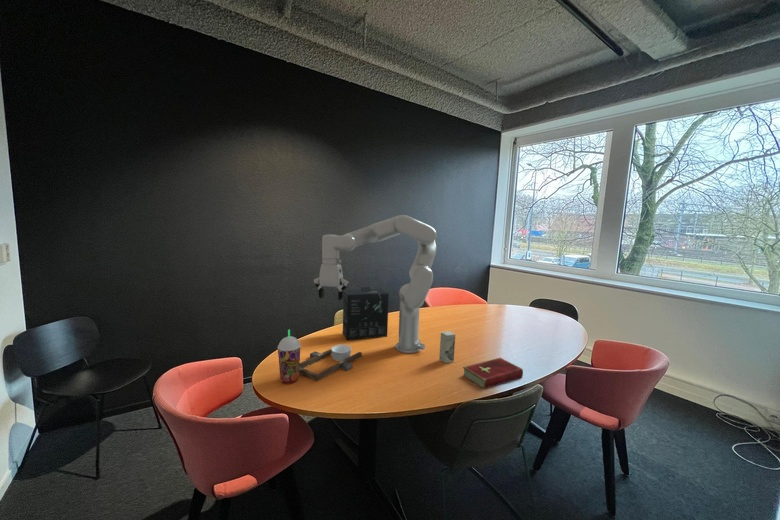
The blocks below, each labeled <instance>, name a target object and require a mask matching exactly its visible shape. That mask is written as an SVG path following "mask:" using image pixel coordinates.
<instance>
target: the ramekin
mask: <svg viewBox="0 0 780 520" xmlns="http://www.w3.org/2000/svg"><path fill="white" fill-rule="evenodd" d="M330 349H331V351H332V355H331V356H332V357H331V358H332V359H333V360H334V361H336V360H338V361H337V362H339V361H341V360H345V359H346V358H348V357H350V356H351V353H352V347H351V346H350V345H347V344H336V345H334V346H332V347H331V348H330Z"/></svg>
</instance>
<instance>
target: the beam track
mask: <svg viewBox="0 0 780 520" xmlns="http://www.w3.org/2000/svg"><path fill="white" fill-rule="evenodd" d="M331 354H332V351H331V348H330V349H328V350H326V351H323V352H319V351H313V352H311V353H309V358H308V359H306V360H304V361H302V362H300V366H299V376H303V377H306V378H308V379H310V380H313V381H315V382H318V381H320V380H322V379H324V378H326V377H328V376H330V375H332V374H333V373H335V372H337V371H338V369H339V370H342V369H343V371H345V370H346V372H348V371H350V370H352V369H353V362H355V361H357V360H359V359H360V357H361V358H362V357H363V352H361V351H358V352H356V353H355V354H352V355H350V357H348V358H346V359H345V360H341V361H337V363H335V364H334V365H331V366H330V367H328V368H326V369H324V370H322V371H320V372H318V373H316V372H313V371H312V370H308V369H306V368H307V367H309V366H311V365H313V364H315V363H317V362H319V361H321V359H322V360H324V359H326V358H328V357H330V356H332V355H331ZM329 355H330V356H329ZM327 356H328V357H327ZM325 357H326V358H325ZM323 358H324V359H323ZM358 358H359V359H358ZM356 359H357V360H356ZM308 365H309V366H308ZM340 368H341V369H340ZM336 370H337V371H336ZM329 374H330V375H329Z"/></svg>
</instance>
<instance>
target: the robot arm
mask: <svg viewBox="0 0 780 520" xmlns="http://www.w3.org/2000/svg"><path fill="white" fill-rule="evenodd" d="M400 235H403V236H405V237H407V238H409V239H412V240H413V241H416V242H417V245H418V249H417V252H416V256H415V257H414V260H413V263H412V265H411V267H410V269H409V273H408V275H409V279H410V282H409V283H406V284H404V285H402V286H401V287H400V289H399V291H398V301H399V306H398V307H399V312H398V313H399V314H398V316H399V317H398V318H399V319H398V342H397V343H395V346H394V347H395V349H396V350H397V351H398V352H400V353H405V354H414V353H416V354H417V353H418V352H420V351H422V350H423V351H424V350H425V349H426V344H425V343H421V339H419V330H420V329H419V328H420V327H419V325H420V308H421V307H422V306H423V304H424V303H425V301H426V299H427V297H428V294H429V291H430V290H431V287H432V285H433V282H434V274H433V273H434V272H433V270H432V269H431V268H432V266H433V263H434V261H435V259H436V258H435V257H436V254H437V243H436V239H437V231H436V230H435V228H434V227H433V226H431V225H429V224H427V223H424V222H422V221H420V220H418V219H415V218H413V217H411V216H410V215H407V214H400V215H395V216H393V217H390V218H388V219H384V220H381V221H379V222H378V221H377V222H375V223H373V224H370V225H367V226H365V227H363V228H362V227H361V228H360V229H356V230H353V231H351V232H348V233H345V234H342V235H337V234H324V235H322V238H321V241H322V242H321V243H322V245H321V247H322V249H321V251H322V252H321V253H322V255H321V256H322V257H321V258H322V259H321V260H322V264H320V269H319V277H316V278H314V279H313V283H314V286H315V287H316V288H317V290H318V297H319V299H322V298H324V297H325V290H324V287H330V288H337V289H338V291H337V292H338V293H337V295H338V296H337V297H338V299H337V300H338V301H341V300H343V291H344V290H347V288H348V285H349V283H350V282H349V281H348V280H347V279H344V278H343V277H344V275H343V269H342V264H341V263H342V262H343V261H342V259H340V251H342V252H352V251H353V250H355V248H358V247H360V246H362V245H366V244H370V243H378V242H383V241H385V240H388V239H390V238H393V237H396V236H400Z"/></svg>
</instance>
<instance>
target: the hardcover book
mask: <svg viewBox="0 0 780 520" xmlns="http://www.w3.org/2000/svg"><path fill="white" fill-rule="evenodd" d="M462 368H463V370H464V371H463V376H464V377H465V378H468V379H469V380H470V381H472V382H474V383H475V384H477V385H478V386H480V387H481V388H482V389H483V390H484V389H487V388H490V387H494V386H498V385H500V384H504V383H508V382H511V381H515V380H518V379H521V378H523V376H524V368H522V367H520V366H518V365H516V364H513V363H512V362H510V361H508V360H506V359H504V358H502V357H498V358H493V359H490V360H486V361H481V362H478V363H477V362H476V363H473V364H470V365H466V366H462Z"/></svg>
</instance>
